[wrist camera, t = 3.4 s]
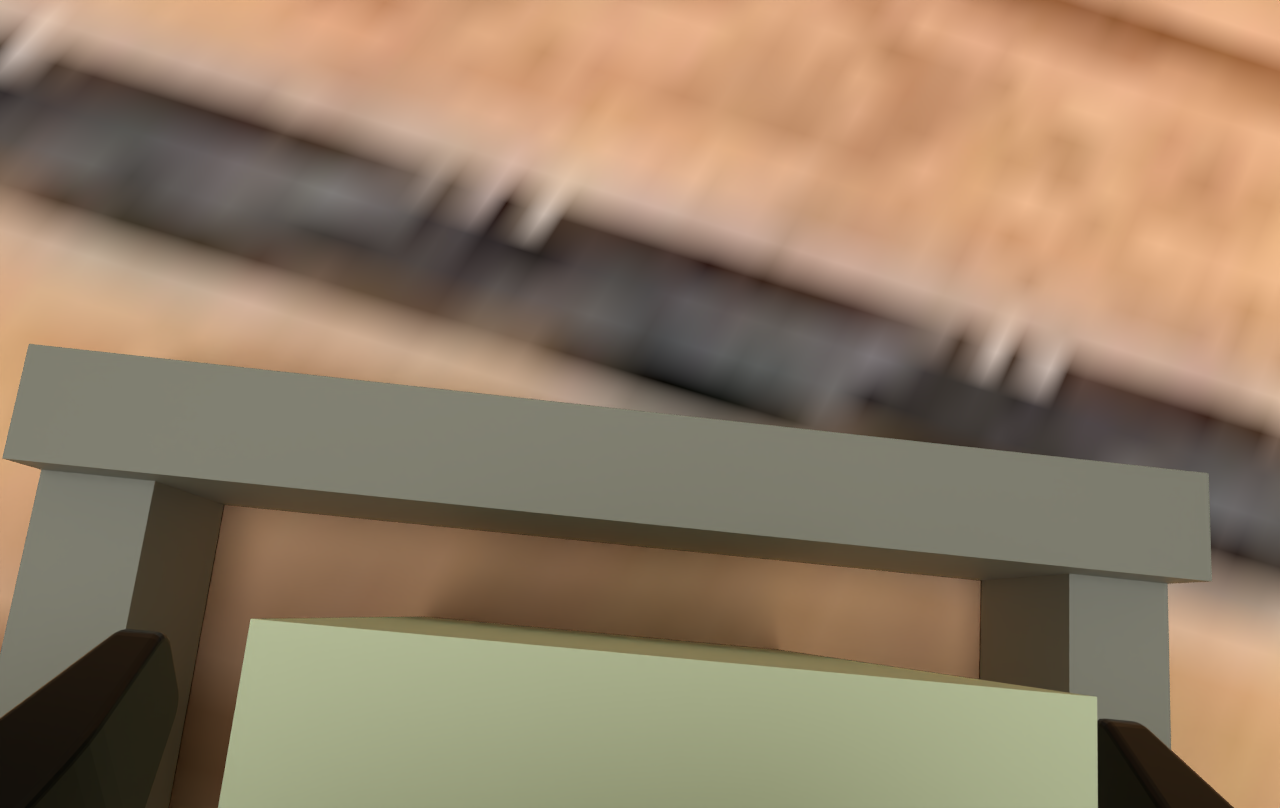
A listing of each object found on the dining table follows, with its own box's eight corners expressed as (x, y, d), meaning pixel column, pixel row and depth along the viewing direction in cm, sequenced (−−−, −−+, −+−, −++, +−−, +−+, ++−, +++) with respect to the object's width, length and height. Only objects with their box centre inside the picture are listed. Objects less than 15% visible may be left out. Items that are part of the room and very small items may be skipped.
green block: (768, 837, 16) (1100, 1167, 7) (398, 808, 16) (164, 1115, 6) (779, 649, 17) (1096, 697, 7) (424, 616, 17) (249, 618, 7)
